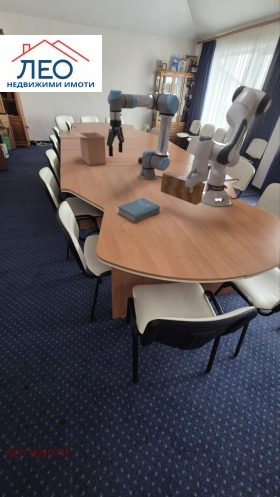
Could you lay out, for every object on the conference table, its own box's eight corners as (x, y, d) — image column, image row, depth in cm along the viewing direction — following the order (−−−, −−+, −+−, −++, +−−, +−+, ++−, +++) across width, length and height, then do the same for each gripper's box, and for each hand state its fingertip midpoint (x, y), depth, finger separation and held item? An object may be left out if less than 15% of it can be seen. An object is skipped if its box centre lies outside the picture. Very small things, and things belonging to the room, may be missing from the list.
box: (116, 165, 229) (116, 136, 213) (83, 168, 214) (80, 137, 198) (102, 154, 259) (101, 128, 243) (71, 156, 244) (68, 129, 228)
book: (142, 204, 158) (143, 197, 155) (159, 212, 149) (160, 205, 146) (118, 213, 145) (118, 206, 142) (134, 223, 136) (135, 216, 133)
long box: (160, 191, 149) (162, 173, 142) (165, 189, 153) (168, 171, 146) (195, 205, 135) (200, 185, 128) (200, 202, 138) (205, 183, 131)
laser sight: (157, 166, 235) (158, 156, 229) (137, 164, 238) (137, 154, 232) (158, 164, 242) (159, 154, 236) (138, 161, 245) (139, 152, 239)
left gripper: (110, 121, 131) (111, 159, 144) (129, 118, 150) (128, 151, 163) (100, 120, 134) (101, 157, 146) (119, 117, 152) (119, 150, 165)
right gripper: (194, 172, 119) (189, 196, 127) (212, 166, 131) (207, 188, 139) (184, 169, 122) (180, 193, 130) (203, 163, 134) (198, 185, 143)
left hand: (115, 154), depth 154 cm, fingers open, 13 cm apart
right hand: (194, 190), depth 135 cm, fingers closed on long box, 6 cm apart
